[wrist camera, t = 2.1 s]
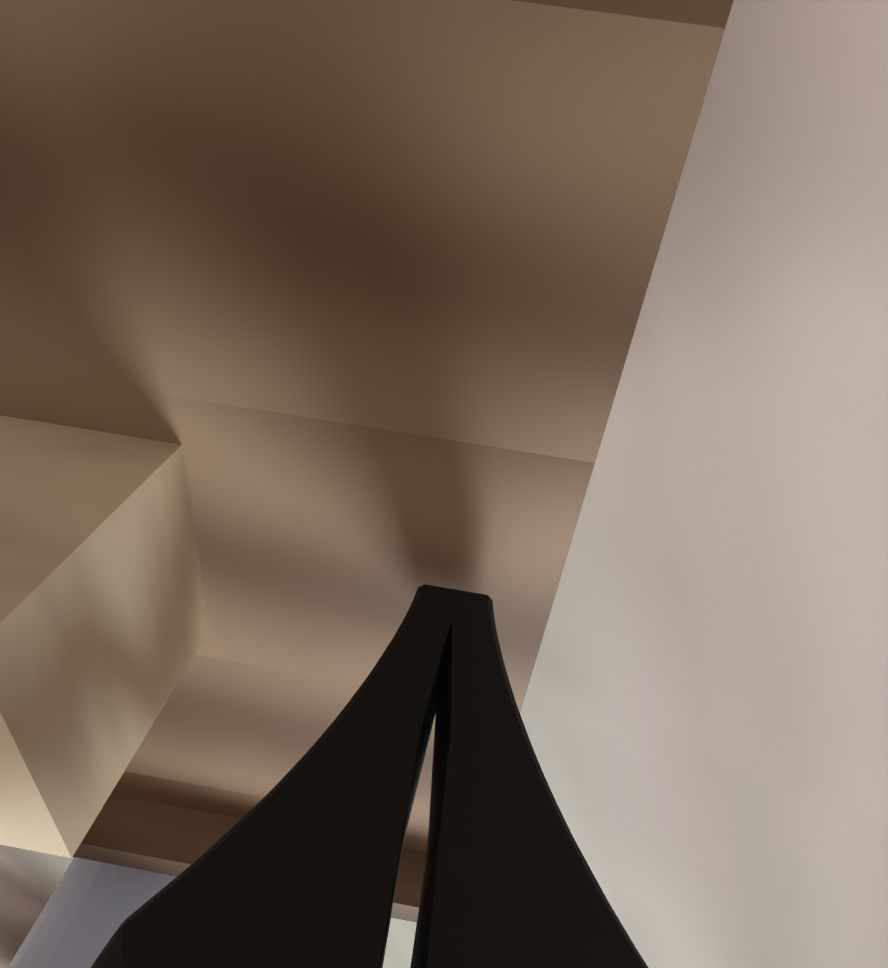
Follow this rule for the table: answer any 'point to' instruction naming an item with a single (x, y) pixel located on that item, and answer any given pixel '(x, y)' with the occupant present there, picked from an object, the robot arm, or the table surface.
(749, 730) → the table surface
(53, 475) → the block
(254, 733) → the trap box
